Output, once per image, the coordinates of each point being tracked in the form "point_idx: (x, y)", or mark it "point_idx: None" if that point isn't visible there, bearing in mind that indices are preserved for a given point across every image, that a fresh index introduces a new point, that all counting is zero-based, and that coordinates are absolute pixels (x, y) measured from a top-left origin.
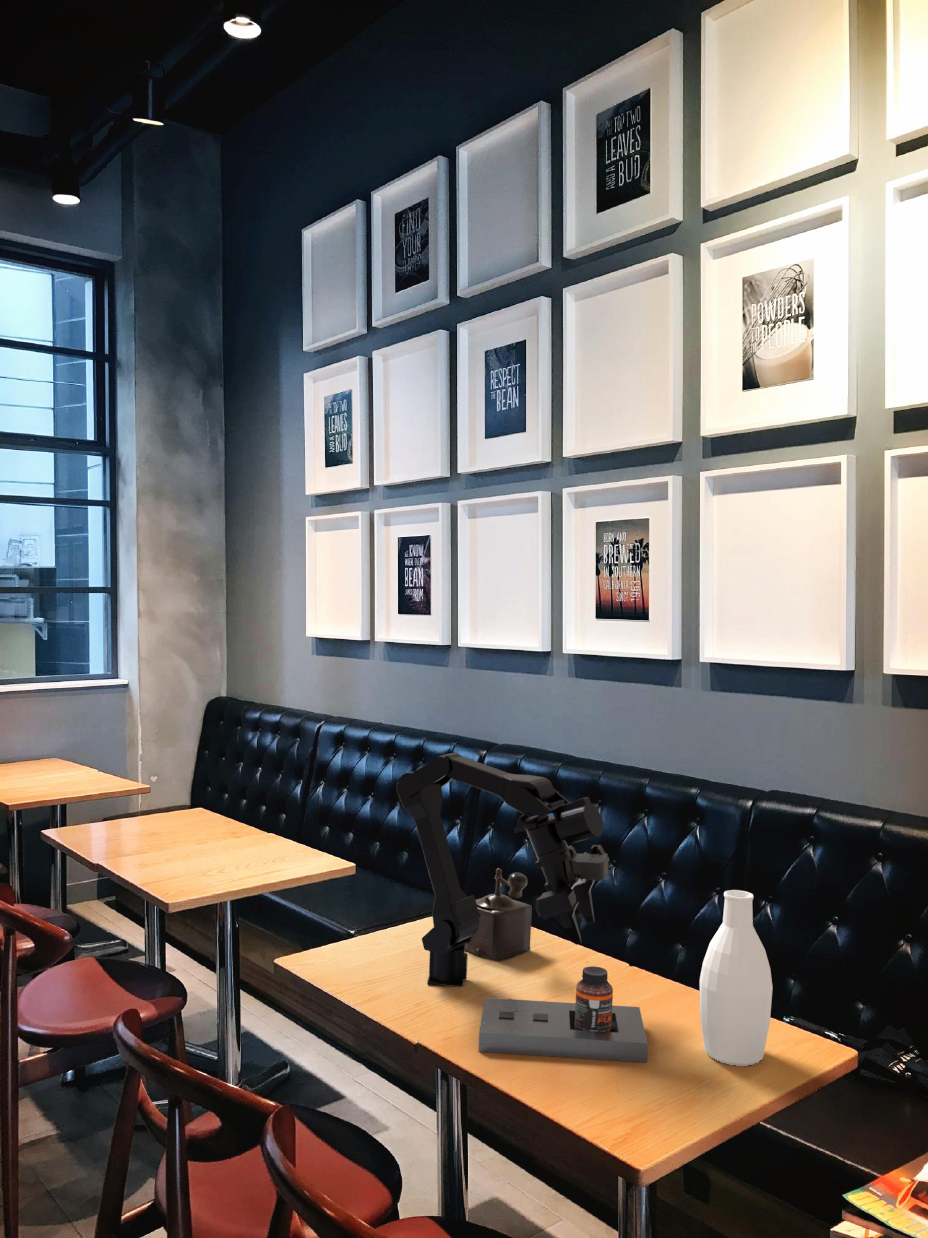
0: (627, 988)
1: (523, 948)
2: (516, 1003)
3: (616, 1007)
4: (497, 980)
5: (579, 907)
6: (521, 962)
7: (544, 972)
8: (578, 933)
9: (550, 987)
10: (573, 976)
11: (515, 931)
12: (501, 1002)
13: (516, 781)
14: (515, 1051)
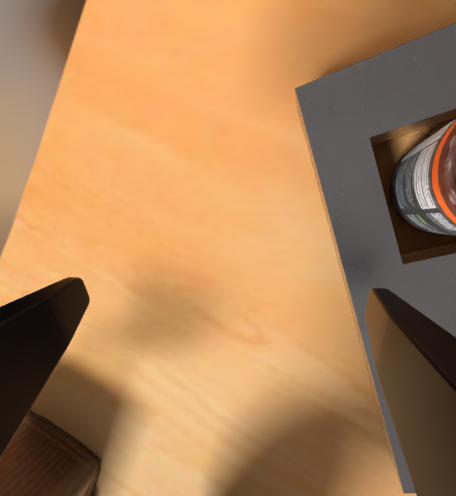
0: (110, 187)
1: (34, 424)
2: None
3: (324, 146)
4: (186, 449)
5: (18, 399)
6: (82, 415)
7: (108, 365)
8: (437, 327)
9: (174, 340)
10: (101, 306)
11: (15, 473)
12: None
13: None
14: None
